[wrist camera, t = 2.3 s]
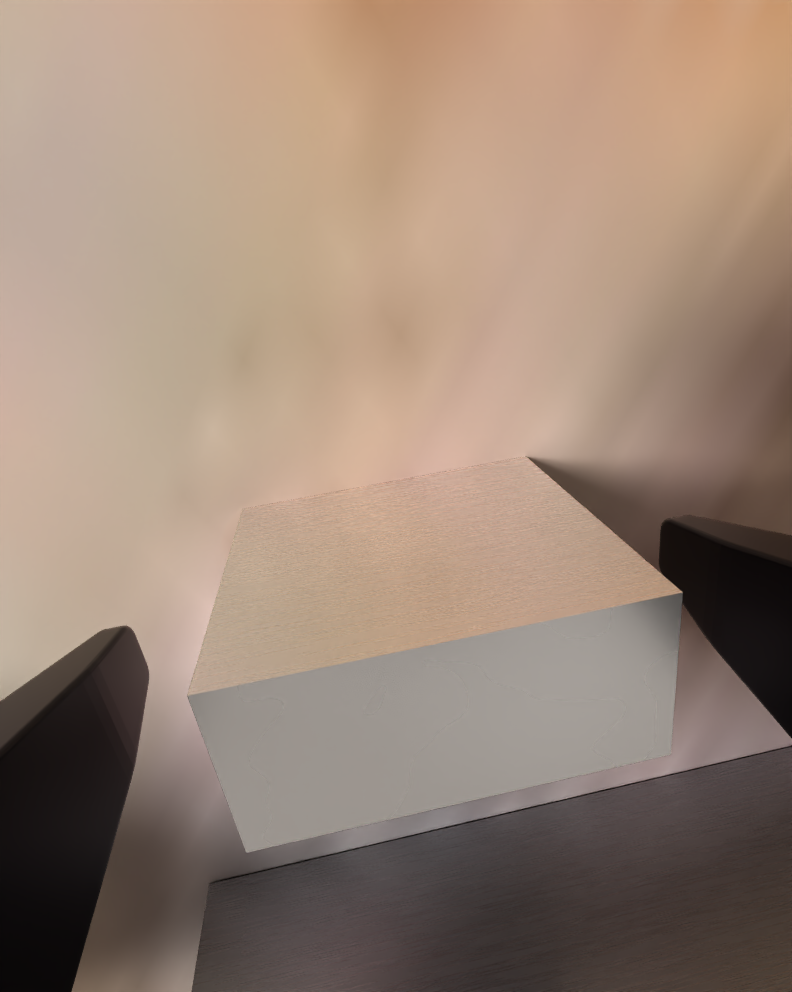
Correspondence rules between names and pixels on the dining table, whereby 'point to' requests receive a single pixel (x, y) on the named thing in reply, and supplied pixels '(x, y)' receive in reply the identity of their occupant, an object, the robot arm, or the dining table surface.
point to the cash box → (535, 899)
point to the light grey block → (428, 651)
